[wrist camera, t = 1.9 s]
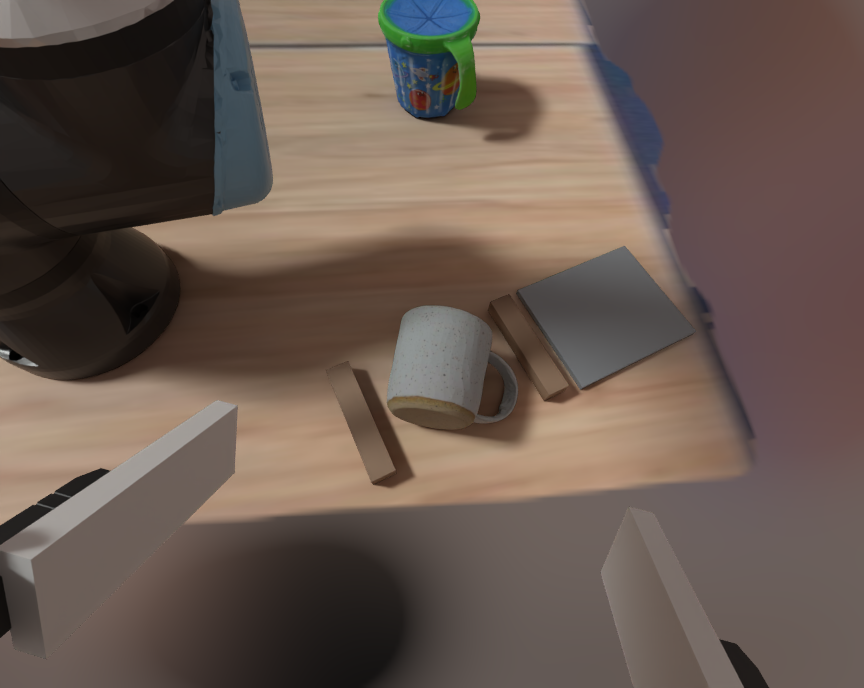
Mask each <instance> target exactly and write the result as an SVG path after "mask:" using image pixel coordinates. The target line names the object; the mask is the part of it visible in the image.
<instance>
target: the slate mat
mask: <svg viewBox="0 0 864 688" xmlns="http://www.w3.org/2000/svg"><path fill="white" fill-rule="evenodd" d="M516 294H517V295H518V297H519V298H520V300H521V301H522V303H523V304H524V306H525V307H526V309H527V310H528V312H529V313H530V315H531V316H532V318H533V319H534V321H535V322H536V324H537V325H538V327H539V328H540V330H541V331H542V333H543V334H544V336H545V337H546V339H547V340H548V342H549V343H550V345H551V346H552V348H553V349H554V351H555V352H556V354H557V355H558V357H559V358H560V360H561V361H562V363H563V364H564V366H565V367H566V369H567V370H568V372H569V373H570V375H571V376H572V378H573V379H574V381H575V382H576V384H577V385H578V387H579V388H580V390H581V389H583V388H585V387H587V386H589V385H591V384H593V383H595V382H597V381H599V380H601V379H603V378H605V377H607V376H609V375H611V374H613V373H615V372H617V371H619V370H621V369H623V368H625V367H627V366H629V365H631V364H633V363H635V362H637V361H639V360H641V359H643V358H645V357H647V356H649V355H651V354H653V353H655V352H657V351H659V350H661V349H663V348H666V347H668V346H670V345H672V344H674V343H676V342H678V341H680V340H682V339H684V338H686V337H688V336H690V335H692V334H693V333H695V332H696V330H695V329H694V328H693V327H692V326H691V324H690V323H689V322H688V321H687V320H686V318H685V317H684V316H683V315H682V314H681V312H680V311H679V310H678V309H677V308H676V307H675V305H674V304H673V303H672V302H671V301H670V299H669V298H668V297H667V296H666V295H665V293H664V292H663V291H662V290H661V289H660V287H659V286H658V285H657V284H656V283H655V281H654V280H653V279H652V278H651V277H650V275H649V274H648V273H647V272H646V271H645V269H644V268H643V267H642V266H641V265H640V263H639V262H638V261H637V260H636V259H635V257H634V256H633V255H632V254H631V253H630V252H629V250H628V249H627V248H626V247H625V246H623V247H621V248H618V249H616V250H613V251H611V252H609V253H606V254H604V255H601V256H599V257H596V258H594V259H592V260H589V261H587V262H584V263H582V264H580V265H577V266H575V267H572V268H570V269H568V270H565V271H563V272H560V273H558V274H555V275H553V276H551V277H548V278H546V279H543V280H541V281H539V282H536V283H534V284H531V285H529V286H527V287H524V288H522V289H519V290H518V291H517V293H516Z"/></svg>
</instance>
